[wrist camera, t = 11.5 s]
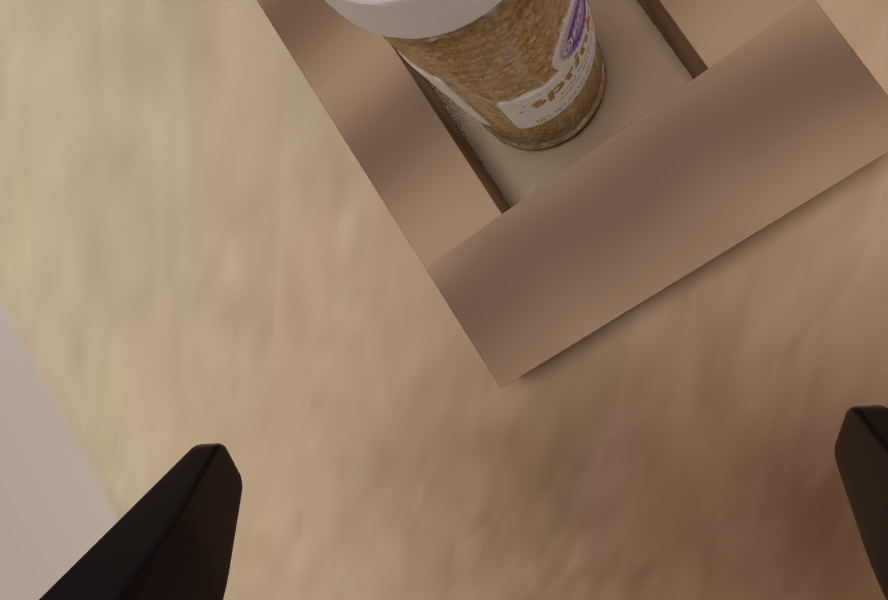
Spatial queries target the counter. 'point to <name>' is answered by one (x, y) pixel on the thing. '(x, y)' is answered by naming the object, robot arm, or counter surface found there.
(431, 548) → the counter surface
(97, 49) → the counter surface
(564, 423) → the counter surface
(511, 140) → the sprinkles bottle
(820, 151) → the brown wooden tray
